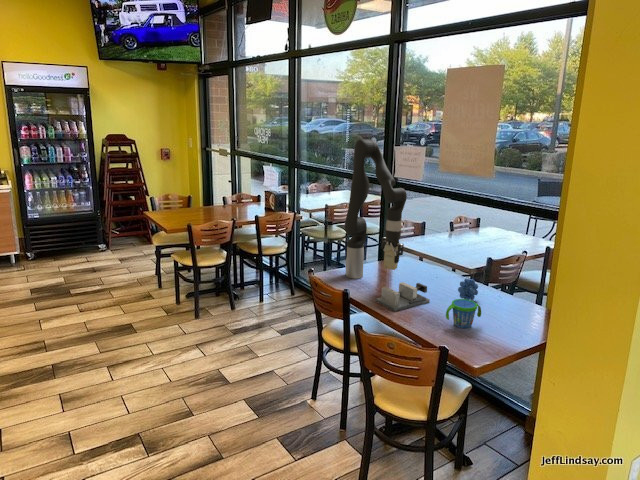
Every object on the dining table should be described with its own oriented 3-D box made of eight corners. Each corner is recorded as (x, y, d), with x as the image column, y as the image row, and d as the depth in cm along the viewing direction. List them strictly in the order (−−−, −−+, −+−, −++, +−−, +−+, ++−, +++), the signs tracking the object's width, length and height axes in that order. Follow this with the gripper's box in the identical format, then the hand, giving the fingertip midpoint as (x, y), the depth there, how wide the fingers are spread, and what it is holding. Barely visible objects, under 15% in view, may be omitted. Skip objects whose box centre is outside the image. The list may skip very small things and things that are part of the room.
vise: (375, 301, 232) (376, 286, 230) (409, 293, 244) (410, 279, 242) (394, 311, 221) (395, 296, 219) (429, 302, 232) (430, 287, 230)
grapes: (462, 305, 228) (464, 282, 225) (454, 300, 235) (456, 277, 231) (482, 302, 232) (485, 279, 229) (473, 297, 239) (476, 274, 235)
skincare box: (383, 268, 241) (384, 244, 237) (386, 265, 244) (387, 242, 241) (395, 270, 238) (396, 246, 234) (397, 267, 242) (399, 244, 238)
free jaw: (398, 294, 237) (399, 283, 235) (415, 290, 242) (416, 279, 241) (412, 301, 228) (413, 289, 227) (429, 296, 234) (430, 285, 233)
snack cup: (449, 331, 202) (451, 308, 199) (440, 320, 212) (442, 299, 209) (485, 330, 203) (487, 307, 201) (474, 319, 214) (477, 298, 211)
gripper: (378, 226, 239) (376, 257, 244) (397, 233, 228) (394, 265, 232) (389, 224, 243) (387, 255, 248) (409, 231, 232) (406, 263, 236)
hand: (391, 260), depth 240 cm, fingers closed on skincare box, 7 cm apart
